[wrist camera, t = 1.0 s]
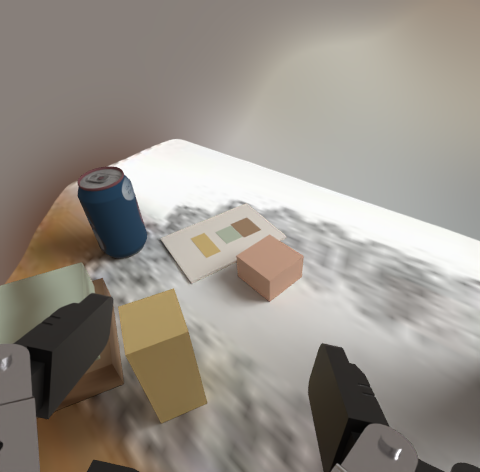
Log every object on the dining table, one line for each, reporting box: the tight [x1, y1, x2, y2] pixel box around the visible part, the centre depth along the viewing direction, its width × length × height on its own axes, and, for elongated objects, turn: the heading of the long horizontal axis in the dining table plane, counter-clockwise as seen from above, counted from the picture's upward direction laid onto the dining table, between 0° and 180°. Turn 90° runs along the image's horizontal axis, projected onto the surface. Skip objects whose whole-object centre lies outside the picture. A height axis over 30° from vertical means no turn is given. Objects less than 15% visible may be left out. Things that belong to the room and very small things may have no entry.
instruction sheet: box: [160, 203, 286, 284], centre depth 50 cm, size 16×11×1 cm
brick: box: [236, 234, 304, 302], centre depth 42 cm, size 6×6×4 cm
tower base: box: [0, 262, 124, 418], centre depth 33 cm, size 12×12×8 cm
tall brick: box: [118, 289, 207, 424], centre depth 28 cm, size 4×4×12 cm
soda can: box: [78, 167, 147, 258], centre depth 46 cm, size 7×7×12 cm
